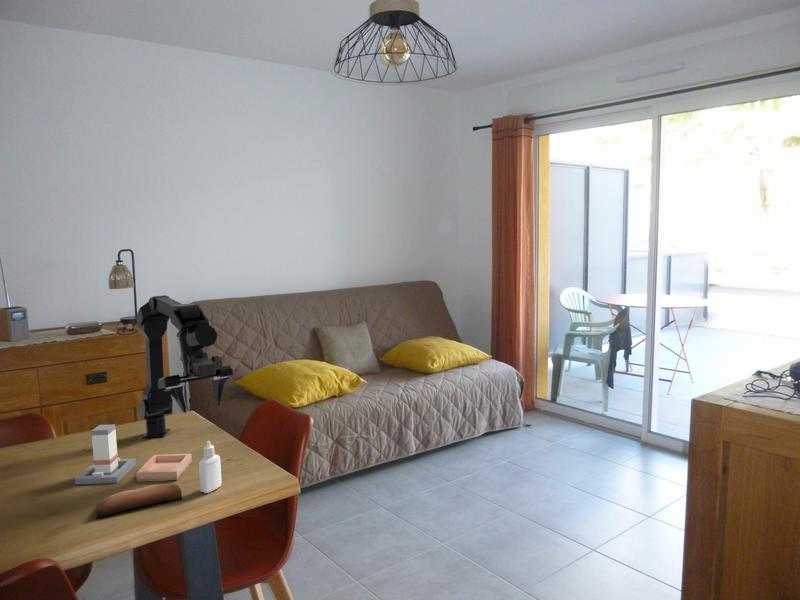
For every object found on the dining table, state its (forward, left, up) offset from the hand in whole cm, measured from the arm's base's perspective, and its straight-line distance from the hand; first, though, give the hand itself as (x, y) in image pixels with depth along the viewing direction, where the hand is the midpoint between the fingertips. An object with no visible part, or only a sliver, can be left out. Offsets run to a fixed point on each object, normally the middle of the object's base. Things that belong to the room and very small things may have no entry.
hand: (201, 409), depth 155 cm
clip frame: (+4, -24, -15) cm, 29 cm away
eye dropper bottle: (+16, +6, -16) cm, 23 cm away
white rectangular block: (+4, -24, -15) cm, 29 cm away
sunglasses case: (+21, -9, -16) cm, 28 cm away
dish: (+4, -9, -15) cm, 18 cm away
